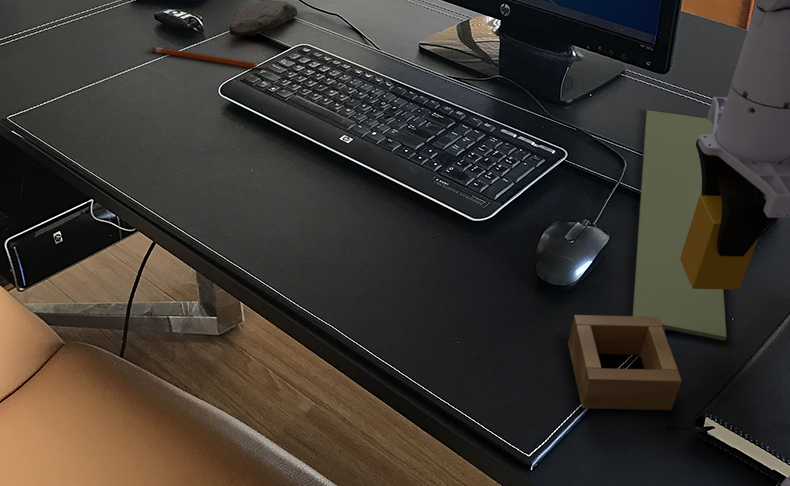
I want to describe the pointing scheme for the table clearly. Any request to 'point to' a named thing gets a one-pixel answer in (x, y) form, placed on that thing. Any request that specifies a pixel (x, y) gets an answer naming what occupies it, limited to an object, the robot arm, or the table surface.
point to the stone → (261, 17)
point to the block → (711, 250)
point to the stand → (623, 385)
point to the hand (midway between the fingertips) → (721, 236)
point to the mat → (672, 228)
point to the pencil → (204, 57)
